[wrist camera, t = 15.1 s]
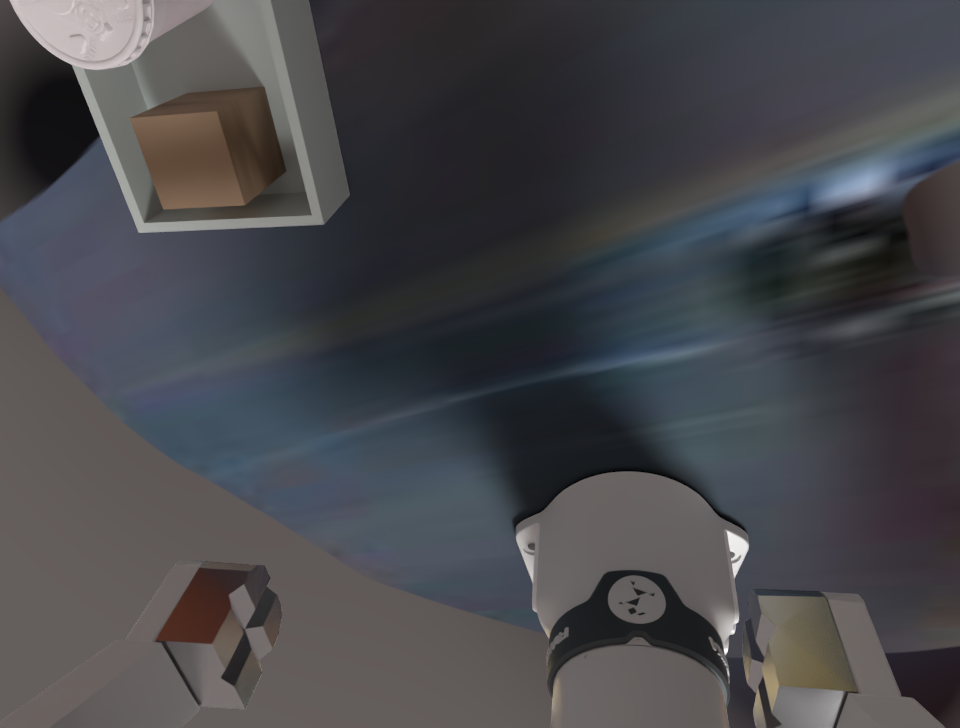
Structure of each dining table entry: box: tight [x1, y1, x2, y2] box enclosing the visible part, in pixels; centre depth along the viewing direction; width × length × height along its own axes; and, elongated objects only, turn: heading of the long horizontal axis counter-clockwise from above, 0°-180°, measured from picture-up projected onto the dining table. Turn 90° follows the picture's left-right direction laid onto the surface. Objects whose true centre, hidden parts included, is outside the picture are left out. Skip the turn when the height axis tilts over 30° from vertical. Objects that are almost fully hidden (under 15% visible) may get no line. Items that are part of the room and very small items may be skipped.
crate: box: [72, 0, 350, 233], centre depth 37 cm, size 18×12×5 cm, turn 6°
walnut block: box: [130, 87, 286, 209], centre depth 39 cm, size 5×5×6 cm
